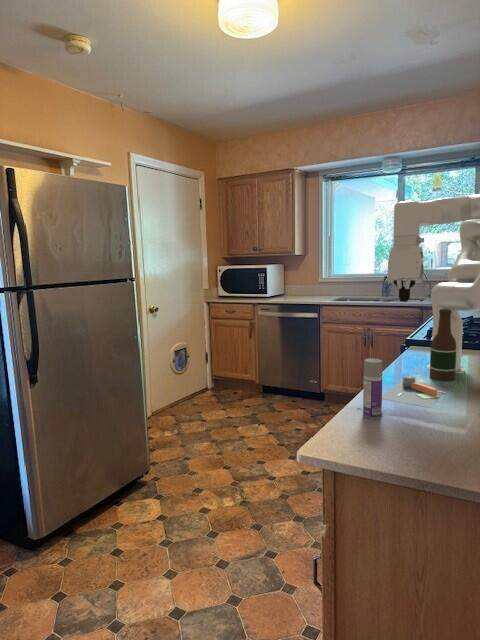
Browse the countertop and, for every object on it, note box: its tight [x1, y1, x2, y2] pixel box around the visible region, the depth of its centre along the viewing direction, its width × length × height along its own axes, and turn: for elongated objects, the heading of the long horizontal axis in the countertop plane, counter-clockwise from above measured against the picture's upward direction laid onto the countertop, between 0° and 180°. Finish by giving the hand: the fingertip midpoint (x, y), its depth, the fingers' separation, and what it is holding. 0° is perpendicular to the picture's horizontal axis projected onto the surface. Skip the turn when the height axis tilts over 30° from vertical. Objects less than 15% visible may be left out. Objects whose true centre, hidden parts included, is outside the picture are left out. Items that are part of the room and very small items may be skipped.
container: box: [362, 357, 383, 420], centre depth 113 cm, size 5×5×15 cm
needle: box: [402, 375, 437, 396], centre depth 129 cm, size 12×4×3 cm, turn 24°
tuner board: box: [382, 379, 450, 408], centre depth 128 cm, size 22×14×1 cm, turn 143°
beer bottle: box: [429, 309, 456, 382], centre depth 140 cm, size 8×8×24 cm
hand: (404, 301), depth 136 cm, fingers closed
